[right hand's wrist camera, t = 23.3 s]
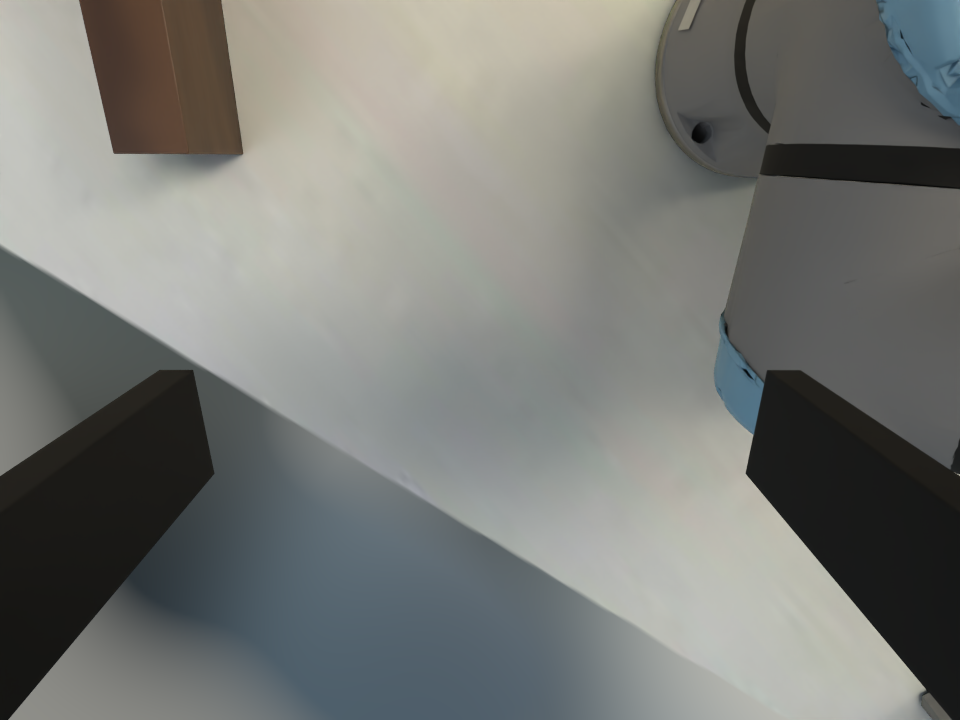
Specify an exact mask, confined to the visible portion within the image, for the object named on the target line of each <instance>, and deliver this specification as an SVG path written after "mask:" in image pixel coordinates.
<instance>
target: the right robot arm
mask: <svg viewBox="0 0 960 720" xmlns="http://www.w3.org/2000/svg"><path fill="white" fill-rule="evenodd" d="M655 83H656V94H657V100H658V105H659V109H660V112H661V115H662V118H663V121H664V123H665V125H666V127H667V129H668V131H669V133H670V135H671V136H672V138H673V139H674V141H675V142H676V143H677V145H678V146H679V147H680V148H681V149H682V150H683V152H684V153H685V154H687V155H688V156H689V157H690V158H691V159H692V160H694V161H695V162H697V163H698V164H700V165H702V166H703V167H705V168H707V169H709V170H712V171H714V172H717V173H721V174H724V175H729V176H736V177H750V178H758V179H757V183H756V188H755V192H754V196H753V200H752V204H751V209H750V213H749V217H748V221H747V225H746V229H745V233H744V237H743V241H742V245H741V249H740V253H739V257H738V261H737V265H736V269H735V273H734V277H733V281H732V285H731V288H730V292H729V296H728V300H727V304H726V308H725V310H724V311H723V313H722V314H721V317H720V321H719V332H720V335H721V336H720V341H719V347H718V352H717V358H716V363H715V368H714V381H715V386H716V390H717V392H718V394H719V395H720V397H721V399H722V400H723V401H724V403H725V406H726V408H727V410H728V411H729V412H730V414H731V415H732V416H733V417H734V418H735V419H736V420H737V421H738V422H739V423H740V424H741V425H742V426H743V427H744V428H746V429H747V430H748V431H749V432H750V433H752V434H753V440H752V445H751V450H750V455H749V460H748V465H747V470H746V475H747V476H748V477H749V478H750V479H751V481H752V482H753V483H754V484H755V485H756V487H757V488H758V489H759V490H760V491H761V493H762V494H763V495H764V496H765V497H766V498H767V500H768V501H769V502H770V503H771V504H772V506H773V507H774V508H775V509H776V510H777V512H778V513H779V514H780V515H781V516H782V518H783V519H784V520H785V521H786V522H787V524H788V525H789V526H790V527H791V528H792V530H793V531H794V532H795V533H796V534H797V535H798V537H799V538H800V539H801V540H802V541H803V543H804V544H805V545H806V546H807V547H808V549H809V550H810V551H811V552H812V553H813V555H814V556H815V557H816V558H817V559H818V561H819V562H820V563H821V564H822V565H823V567H824V568H825V569H826V570H827V571H828V572H829V574H830V575H831V576H832V577H833V578H834V580H835V581H836V582H837V583H838V584H839V586H840V587H841V588H842V589H843V590H844V592H845V593H846V594H847V595H848V596H849V598H850V599H851V600H852V601H853V602H854V604H855V605H856V606H857V607H858V608H859V609H860V611H861V612H862V613H863V614H864V615H865V617H866V618H867V619H868V620H869V621H870V623H871V624H872V625H873V626H874V627H875V629H876V630H877V631H878V632H879V633H880V635H881V636H882V637H883V638H884V639H885V641H886V642H887V643H888V644H889V645H890V646H891V648H892V649H893V650H894V651H895V652H896V654H897V655H898V656H899V657H900V658H901V660H902V661H903V662H904V663H905V664H906V666H907V667H908V668H909V669H910V670H911V672H912V673H913V674H914V675H915V676H916V678H917V679H918V680H919V681H920V682H921V683H922V685H923V686H924V687H925V688H926V689H927V691H928V692H929V693H930V694H931V695H932V697H933V698H934V699H935V700H936V701H937V703H938V704H939V705H940V706H941V707H942V709H943V710H944V711H945V712H946V713H947V715H948V716H949V717H950V718H951V719H952V720H960V476H959V475H957V474H956V473H958V474H960V0H677V1H676V3H675V4H674V6H673V8H672V10H671V12H670V14H669V17H668V19H667V21H666V24H665V26H664V29H663V32H662V35H661V39H660V43H659V47H658V52H657V59H656V70H655ZM781 176H787V177H781ZM796 177H802V178H796ZM810 178H815V179H810ZM825 179H828V180H825ZM839 180H843V181H839ZM853 181H857V182H853ZM867 182H870V183H867ZM882 183H885V184H882ZM896 184H899V185H896ZM910 185H912V186H910ZM924 186H926V187H924ZM938 187H939V188H938ZM954 472H955V473H954ZM213 475H214V470H213V465H212V460H211V455H210V450H209V445H208V441H207V435H206V431H205V426H204V421H203V416H202V411H201V406H200V401H199V397H198V392H197V387H196V382H195V377H194V372H193V370H159V371H157V372H156V373H154V374H153V375H151V376H150V377H148V378H147V379H145V380H144V381H142V382H141V383H139V384H138V385H136V386H135V387H133V388H132V389H130V390H129V391H127V392H126V393H124V394H123V395H121V396H120V397H118V398H117V399H115V400H114V401H112V402H111V403H109V404H108V405H106V406H105V407H103V408H102V409H100V410H99V411H97V412H96V413H94V414H93V415H91V416H90V417H88V418H87V419H85V420H84V421H82V422H81V423H79V424H78V425H76V426H75V427H73V428H72V429H70V430H69V431H67V432H66V433H64V434H63V435H61V436H60V437H58V438H57V439H55V440H54V441H52V442H51V443H49V444H48V445H46V446H45V447H43V448H42V449H40V450H39V451H37V452H36V453H34V454H33V455H31V456H30V457H28V458H27V459H25V460H24V461H22V462H21V463H19V464H18V465H16V466H15V467H13V468H12V469H10V470H9V471H7V472H6V473H4V474H3V475H1V476H0V720H8V719H9V718H10V717H11V716H12V714H13V713H14V712H15V711H16V710H17V709H18V707H19V706H20V705H21V704H22V703H23V701H24V700H25V699H26V698H27V697H28V695H29V694H30V693H31V692H32V691H33V689H34V688H35V687H36V686H37V685H38V683H39V682H40V681H41V680H42V679H43V678H44V676H45V675H46V674H47V673H48V672H49V670H50V669H51V668H52V667H53V666H54V664H55V663H56V662H57V661H58V660H59V658H60V657H61V656H62V655H63V654H64V652H65V651H66V650H67V649H68V648H69V646H70V645H71V644H72V643H73V642H74V640H75V639H76V638H77V637H78V636H79V635H80V633H81V632H82V631H83V630H84V629H85V627H86V626H87V625H88V624H89V623H90V621H91V620H92V619H93V618H94V617H95V615H96V614H97V613H98V612H99V611H100V609H101V608H102V607H103V606H104V605H105V603H106V602H107V601H108V600H109V599H110V598H111V596H112V595H113V594H114V593H115V592H116V590H117V589H118V588H119V587H120V586H121V584H122V583H123V582H124V581H125V580H126V578H127V577H128V576H129V575H130V574H131V572H132V571H133V570H134V569H135V568H136V566H137V565H138V564H139V563H140V562H141V561H142V559H143V558H144V557H145V556H146V555H147V553H148V552H149V551H150V550H151V549H152V547H153V546H154V545H155V544H156V543H157V541H158V540H159V539H160V538H161V537H162V535H163V534H164V533H165V532H166V531H167V530H168V528H169V527H170V526H171V525H172V523H173V522H174V521H175V520H176V519H177V518H178V516H179V515H180V514H181V513H182V512H183V510H184V509H185V508H186V507H187V506H188V504H189V503H190V502H191V501H192V500H193V498H194V497H195V496H196V495H197V494H198V492H199V491H200V490H201V489H202V488H203V487H204V485H205V484H206V483H207V482H208V481H209V479H210V478H211V477H212V476H213Z"/></svg>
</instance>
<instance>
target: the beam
mask: <svg viewBox="0 0 960 720" xmlns="http://www.w3.org/2000/svg"><path fill="white" fill-rule="evenodd" d="M79 2H80V6H81V10H82V15H83V19H84V24H85V28H86V33H87V37H88V41H89V46H90V50H91V55H92V59H93V64H94V68H95V73H96V77H97V81H98V86H99V90H100V95H101V99H102V104H103V108H104V112H105V117H106V121H107V126H108V130H109V135H110V139H111V143H112V148H113V152H114V154H243V149H242V142H241V136H240V129H239V122H238V115H237V108H236V101H235V94H234V87H233V81H232V74H231V67H230V60H229V53H228V46H227V39H226V32H225V26H224V19H223V12H222V5H221V0H79Z"/></svg>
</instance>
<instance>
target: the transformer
mask: <svg viewBox="0 0 960 720" xmlns="http://www.w3.org/2000/svg"><path fill="white" fill-rule="evenodd" d="M921 706H922V707H923V708H924V709H925V711H926V712H927V713H928V714H929V716H930V717H931V718H932V719H933V720H952V719H951V718H950V717H949V716H948V715H947V713H946V712H945V711H944V710H943V709H942V707H941V706H940V705H939V704H938V703H937V701H936V700H935V699H934V698H933V697H932V695H931V694H930V693H927V694H925V695H923V696H922V703H921Z"/></svg>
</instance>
